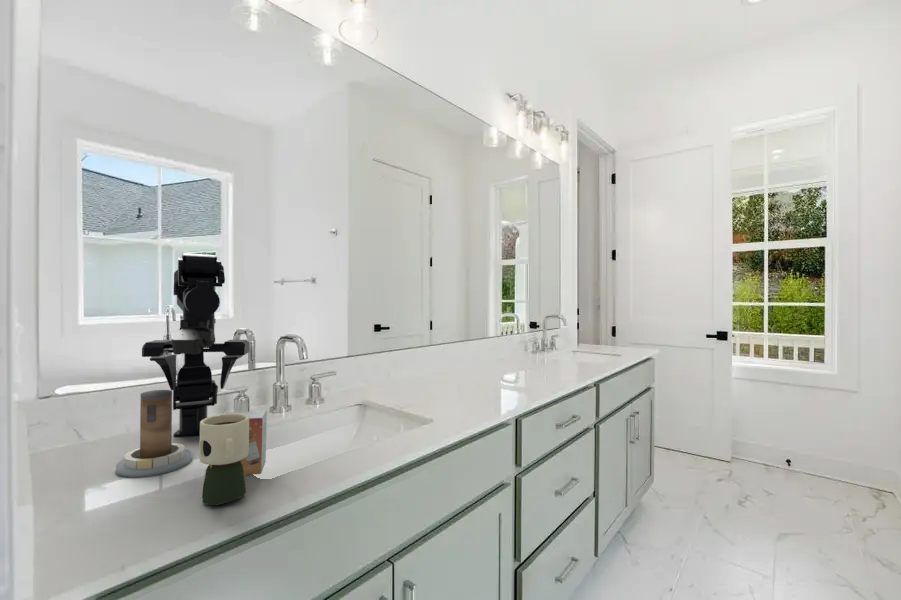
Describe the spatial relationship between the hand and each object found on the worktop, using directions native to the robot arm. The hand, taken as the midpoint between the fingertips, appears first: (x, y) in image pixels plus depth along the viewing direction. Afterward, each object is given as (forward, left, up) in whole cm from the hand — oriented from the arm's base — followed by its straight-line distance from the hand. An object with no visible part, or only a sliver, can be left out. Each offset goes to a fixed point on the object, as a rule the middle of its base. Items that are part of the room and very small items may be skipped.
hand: (198, 389), depth 90 cm
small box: (+12, +11, -13) cm, 21 cm away
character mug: (+24, +11, -13) cm, 30 cm away
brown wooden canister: (+6, -5, -12) cm, 14 cm away
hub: (+6, -5, -13) cm, 15 cm away
